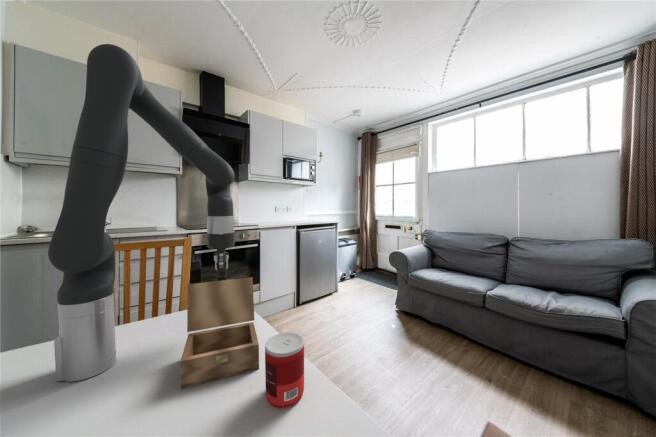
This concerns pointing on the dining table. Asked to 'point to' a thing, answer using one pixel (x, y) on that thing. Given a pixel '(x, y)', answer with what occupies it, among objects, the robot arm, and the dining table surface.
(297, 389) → the canned food
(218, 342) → the box
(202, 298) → the lid
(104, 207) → the robot arm
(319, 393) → the dining table surface
